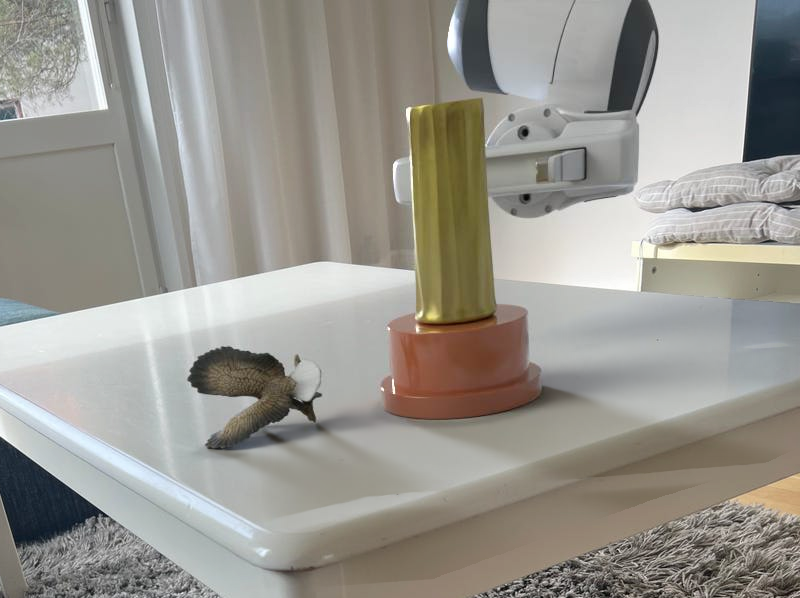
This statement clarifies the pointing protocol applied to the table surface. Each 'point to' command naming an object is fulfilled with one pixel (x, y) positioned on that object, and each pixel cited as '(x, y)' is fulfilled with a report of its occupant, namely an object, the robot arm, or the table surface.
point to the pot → (460, 366)
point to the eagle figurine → (255, 389)
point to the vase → (450, 212)
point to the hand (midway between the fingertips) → (484, 177)
